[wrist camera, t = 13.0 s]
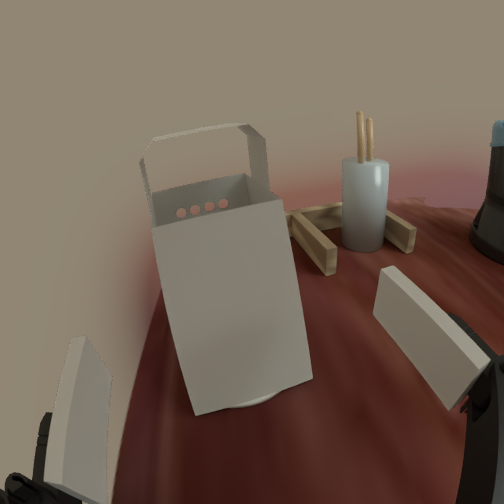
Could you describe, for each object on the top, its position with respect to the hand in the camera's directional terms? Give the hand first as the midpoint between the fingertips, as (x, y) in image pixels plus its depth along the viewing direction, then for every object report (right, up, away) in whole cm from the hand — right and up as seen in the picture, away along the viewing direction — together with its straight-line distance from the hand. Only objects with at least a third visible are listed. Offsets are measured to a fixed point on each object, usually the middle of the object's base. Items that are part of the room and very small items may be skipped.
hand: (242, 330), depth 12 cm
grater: (-1, -7, +15) cm, 16 cm away
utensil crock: (+18, +5, +32) cm, 37 cm away
